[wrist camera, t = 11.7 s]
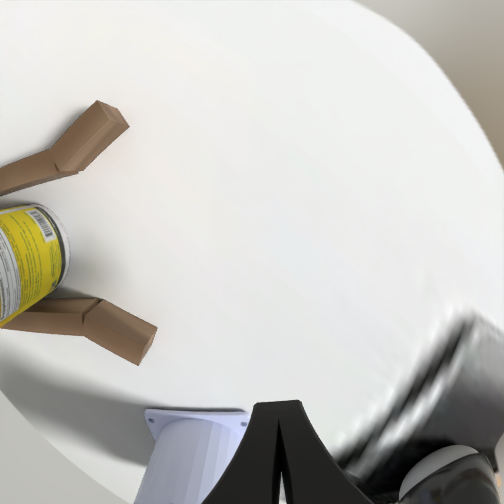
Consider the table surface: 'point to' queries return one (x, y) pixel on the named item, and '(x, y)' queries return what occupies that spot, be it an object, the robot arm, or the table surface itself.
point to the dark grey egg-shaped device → (451, 479)
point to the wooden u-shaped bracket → (81, 309)
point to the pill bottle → (30, 257)
